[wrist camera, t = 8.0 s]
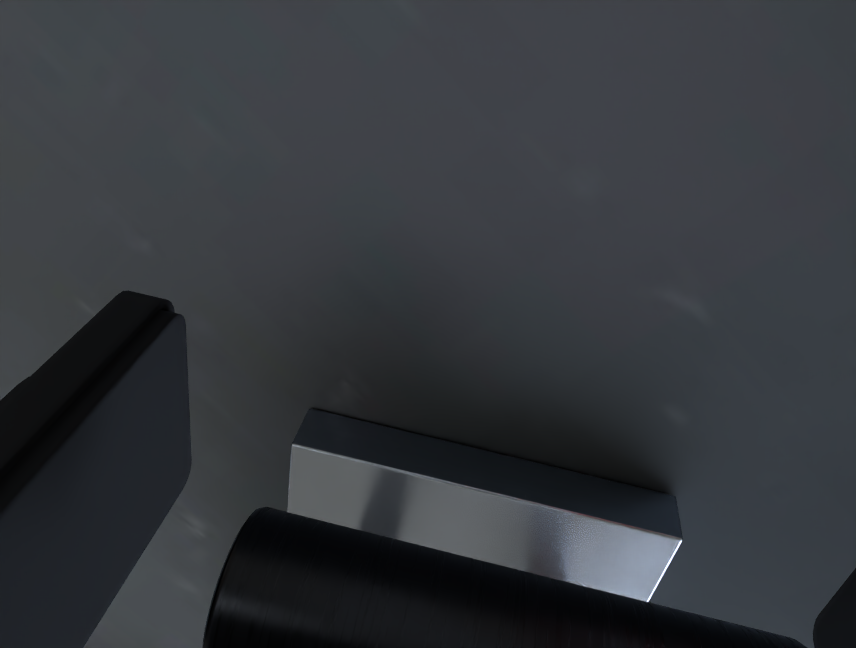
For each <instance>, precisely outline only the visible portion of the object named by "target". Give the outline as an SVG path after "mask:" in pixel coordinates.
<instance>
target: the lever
mask: <svg viewBox="0 0 856 648" xmlns="http://www.w3.org/2000/svg"><path fill="white" fill-rule="evenodd" d="M203 648H807V647H805V646H804V645H802V644H801V643H800V642H798V641H797V640H795V639H792V638H790V637H786V636H782V635H778V634H774V633H770V632H766V631H762V630H758V629H754V628H750V627H746V626H742V625H738V624H734V623H730V622H726V621H722V620H718V619H714V618H710V617H706V616H702V615H698V614H694V613H690V612H686V611H682V610H678V609H674V608H670V607H666V606H662V605H658V604H654V603H650V602H646V601H642V600H638V599H633V598H629V597H625V596H621V595H617V594H613V593H609V592H605V591H601V590H597V589H593V588H589V587H585V586H581V585H577V584H573V583H569V582H565V581H561V580H557V579H553V578H549V577H545V576H541V575H537V574H533V573H529V572H525V571H521V570H517V569H513V568H509V567H505V566H501V565H497V564H493V563H489V562H485V561H481V560H477V559H473V558H469V557H465V556H461V555H457V554H453V553H449V552H445V551H441V550H437V549H433V548H429V547H425V546H421V545H417V544H413V543H409V542H405V541H401V540H397V539H393V538H389V537H385V536H381V535H377V534H373V533H369V532H365V531H361V530H357V529H353V528H349V527H345V526H341V525H337V524H333V523H329V522H325V521H321V520H317V519H313V518H309V517H305V516H301V515H297V514H293V513H289V512H285V511H281V510H277V509H273V508H269V507H263V508H258V509H256V510H255V511H254V512H253V513H252V514H251V515H250V516H249V518H248V519H247V520H246V522H245V523H244V525H243V526H242V528H241V529H240V531H239V533H238V535H237V536H236V538H235V540H234V542H233V544H232V547H231V549H230V551H229V553H228V555H227V558H226V560H225V563H224V565H223V568H222V570H221V573H220V576H219V579H218V582H217V585H216V588H215V591H214V594H213V598H212V601H211V605H210V609H209V613H208V617H207V621H206V626H205V632H204V639H203Z"/></svg>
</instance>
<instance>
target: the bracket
mask: <svg viewBox="0 0 856 648" xmlns="http://www.w3.org/2000/svg"><path fill="white" fill-rule="evenodd" d="M287 512H289V513H293V514H297V515H301V516H305V517H309V518H313V519H317V520H321V521H325V522H329V523H333V524H337V525H341V526H345V527H349V528H353V529H357V530H361V531H365V532H369V533H373V534H377V535H381V536H385V537H389V538H393V539H397V540H401V541H405V542H409V543H413V544H417V545H421V546H425V547H429V548H433V549H437V550H441V551H445V552H449V553H453V554H457V555H461V556H465V557H469V558H473V559H477V560H481V561H485V562H489V563H493V564H497V565H501V566H505V567H509V568H513V569H517V570H521V571H525V572H529V573H533V574H537V575H541V576H545V577H549V578H553V579H557V580H561V581H565V582H569V583H573V584H577V585H581V586H585V587H589V588H593V589H597V590H601V591H605V592H609V593H613V594H617V595H621V596H625V597H629V598H633V599H638V600H642V601H646V602H649V600H650V598H651V596H652V595H653V593H654V591H655V589H656V587H657V586H658V584H659V582H660V580H661V578H662V577H663V575H664V573H665V571H666V569H667V568H668V566H669V564H670V562H671V560H672V559H673V557H674V555H675V553H676V551H677V549H678V548H679V546H680V544H681V542H682V540H683V538H682V531H681V525H680V519H679V513H678V506H677V500H676V497H675V496H673V495H669V494H665V493H661V492H657V491H652V490H648V489H644V488H640V487H636V486H632V485H627V484H623V483H619V482H615V481H611V480H607V479H603V478H598V477H594V476H590V475H586V474H582V473H578V472H573V471H569V470H565V469H561V468H557V467H553V466H549V465H544V464H540V463H536V462H532V461H528V460H524V459H519V458H515V457H511V456H507V455H503V454H499V453H494V452H490V451H486V450H482V449H478V448H474V447H470V446H465V445H461V444H457V443H453V442H449V441H445V440H440V439H436V438H432V437H428V436H424V435H420V434H416V433H411V432H407V431H403V430H399V429H395V428H391V427H386V426H382V425H378V424H374V423H370V422H366V421H362V420H357V419H353V418H349V417H345V416H341V415H337V414H332V413H328V412H324V411H320V410H316V409H312V408H311V409H309V410H308V411H307V413H306V415H305V418H304V420H303V422H302V424H301V426H300V428H299V430H298V432H297V434H296V436H295V438H294V440H293V442H292V444H291V457H290V472H289V487H288V502H287Z"/></svg>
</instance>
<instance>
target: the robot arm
mask: <svg viewBox="0 0 856 648" xmlns="http://www.w3.org/2000/svg"><path fill="white" fill-rule="evenodd" d="M191 460H192V459H191V436H190V413H189V390H188V367H187V343H186V324H185V319H184V317H183V316H182V315H181V314H177V313H175V312H174V307H173V305H172V303H171V302H170V301H169V300H166V299H162V298H158V297H153V296H149V295H145V294H140V293H136V292H132V291H122V292H121V293H119V294H118V295H117V296H116V297H115V298H113V299H112V300H111V301H110V302H109V303H108V304H107V305H106V306H105V307H104V308H103V309H102V310H101V311H100V312H99V313H97V314H96V315H95V316H94V317H93V318H92V319H91V320H90V321H89V322H88V323H87V324H86V325H85V326H84V327H83V328H81V329H80V330H79V331H78V332H77V333H76V334H75V335H74V336H73V337H72V338H71V339H70V340H69V341H68V342H67V343H65V344H64V345H63V346H62V347H61V348H60V349H59V350H58V351H57V352H56V353H55V354H54V355H53V356H52V357H51V358H50V359H48V360H47V361H46V362H45V363H44V364H43V365H42V366H41V367H40V368H39V369H38V370H37V371H36V372H35V373H34V374H32V375H31V376H30V377H28V378H26V379H25V380H24V381H22V382H21V383H19V384H18V385H17V386H16V387H15V388H14V389H12V390H11V391H10V392H9V393H8V394H7V395H6V396H5V397H4V398H3V399H2V400H1V401H0V648H83V647H84V645H85V644H86V642H87V641H88V639H89V637H90V636H91V634H92V633H93V631H94V629H95V628H96V626H97V625H98V623H99V622H100V620H101V618H102V617H103V615H104V614H105V612H106V610H107V609H108V607H109V606H110V604H111V602H112V601H113V599H114V598H115V596H116V595H117V593H118V591H119V590H120V588H121V587H122V585H123V583H124V582H125V580H126V579H127V577H128V575H129V574H130V572H131V571H132V569H133V567H134V566H135V564H136V563H137V561H138V560H139V558H140V556H141V555H142V553H143V552H144V550H145V548H146V547H147V545H148V544H149V542H150V540H151V539H152V537H153V536H154V534H155V533H156V531H157V529H158V528H159V526H160V525H161V523H162V521H163V520H164V518H165V517H166V515H167V513H168V512H169V510H170V509H171V507H172V505H173V504H174V502H175V501H176V499H177V498H178V496H179V494H180V493H181V491H182V490H183V488H184V486H185V484H186V482H187V479H188V476H189V473H190V469H191ZM813 641H814V646H815V648H856V568H855V570H854V571H853V572H852V574H851V575H850V576H849V577H848V579H847V580H846V581H845V582H844V584H843V585H842V586H841V587H840V589H839V590H838V591H837V592H836V594H835V595H834V596H833V597H832V599H831V600H830V601H829V602H828V604H827V605H826V606H825V608H824V609H823V610H822V611H821V613H820V614H819V615H818V617H817V619H816V621H815V624H814V630H813Z"/></svg>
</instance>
